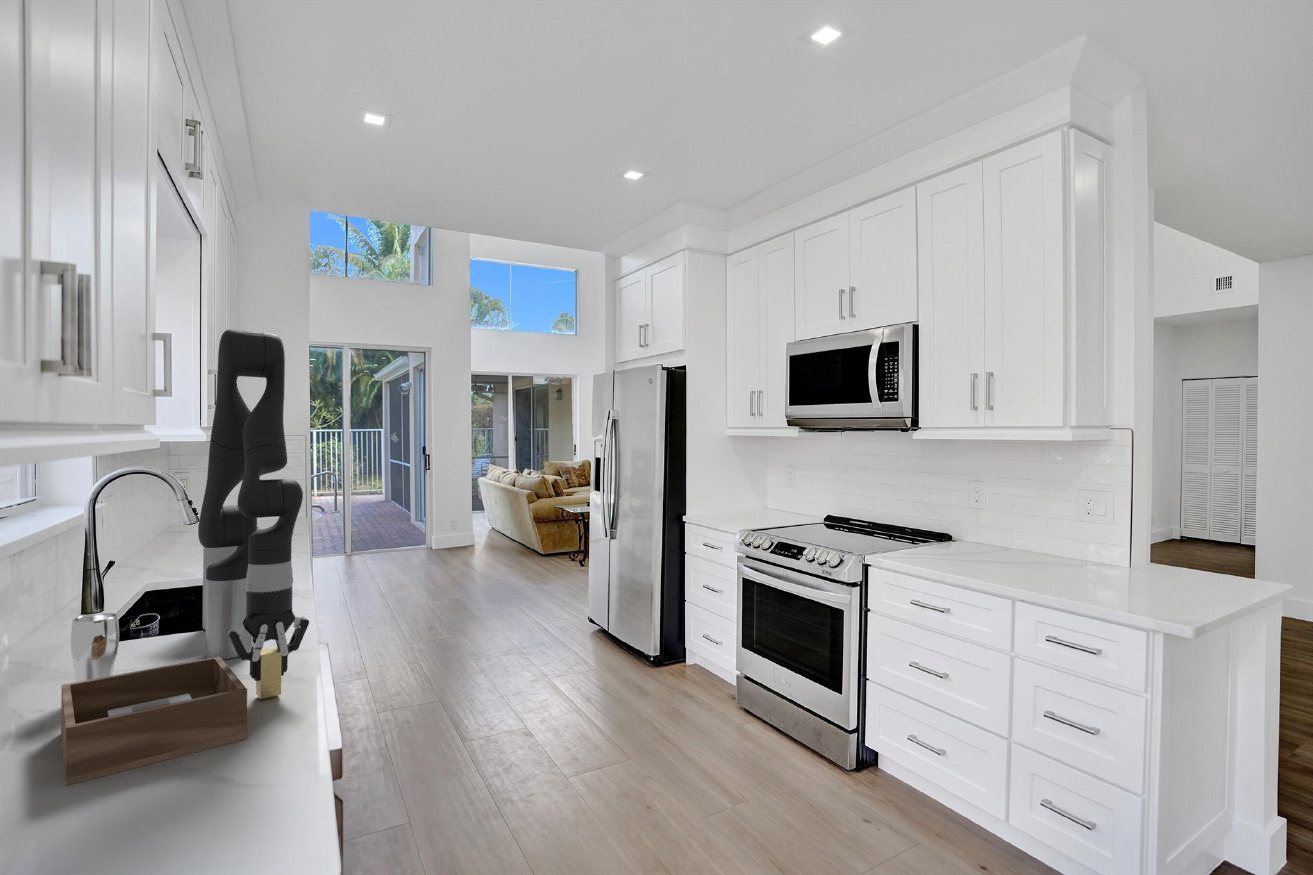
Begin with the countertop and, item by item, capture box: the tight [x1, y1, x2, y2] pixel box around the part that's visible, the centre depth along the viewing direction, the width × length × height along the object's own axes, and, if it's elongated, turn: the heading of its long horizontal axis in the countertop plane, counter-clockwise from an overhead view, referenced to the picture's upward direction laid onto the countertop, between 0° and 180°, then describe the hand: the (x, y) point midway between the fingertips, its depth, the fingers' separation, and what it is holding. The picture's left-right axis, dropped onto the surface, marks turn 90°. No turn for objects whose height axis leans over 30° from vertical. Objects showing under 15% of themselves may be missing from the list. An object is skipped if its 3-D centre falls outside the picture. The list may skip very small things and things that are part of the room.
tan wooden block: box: [255, 647, 282, 700], centre depth 126 cm, size 3×3×8 cm
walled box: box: [60, 656, 248, 786], centre depth 109 cm, size 22×22×8 cm
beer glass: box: [69, 612, 120, 682], centre depth 125 cm, size 7×7×15 cm
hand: (268, 676), depth 126 cm, fingers closed on tan wooden block, 3 cm apart
